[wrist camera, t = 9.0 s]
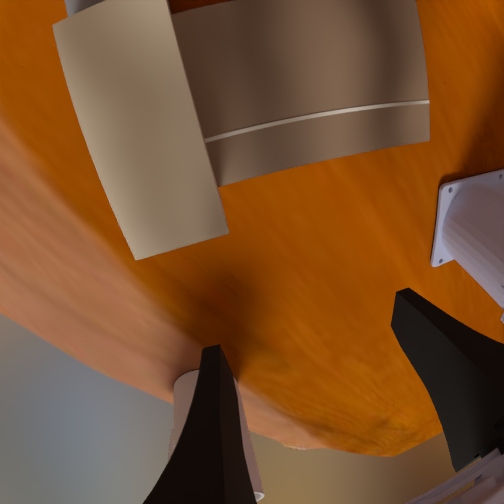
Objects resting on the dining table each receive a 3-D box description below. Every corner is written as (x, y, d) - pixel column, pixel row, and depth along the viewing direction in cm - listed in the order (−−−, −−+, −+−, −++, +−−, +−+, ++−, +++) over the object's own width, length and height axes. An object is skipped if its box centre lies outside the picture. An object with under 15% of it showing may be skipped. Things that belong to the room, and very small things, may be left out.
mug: (201, 356, 26) (218, 489, 16) (254, 380, 29) (282, 492, 19) (140, 401, 29) (141, 508, 19) (190, 419, 32) (201, 515, 22)
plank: (392, 1, 13) (415, -2, 11) (407, 131, 18) (430, 140, 16) (85, 54, 12) (69, 53, 10) (132, 197, 17) (125, 215, 15)
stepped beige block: (163, -18, 11) (151, -61, 6) (217, 182, 17) (229, 233, 12) (90, 8, 11) (44, -17, 6) (150, 202, 17) (135, 260, 12)
